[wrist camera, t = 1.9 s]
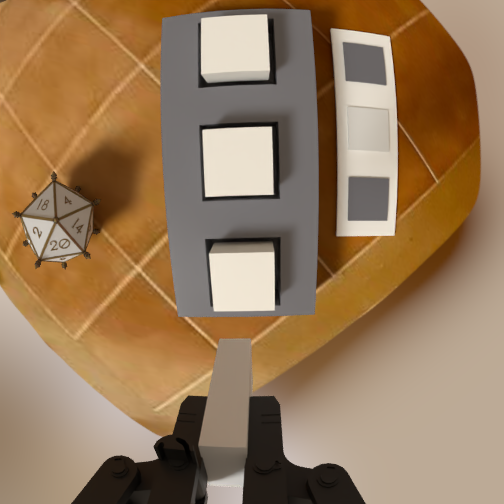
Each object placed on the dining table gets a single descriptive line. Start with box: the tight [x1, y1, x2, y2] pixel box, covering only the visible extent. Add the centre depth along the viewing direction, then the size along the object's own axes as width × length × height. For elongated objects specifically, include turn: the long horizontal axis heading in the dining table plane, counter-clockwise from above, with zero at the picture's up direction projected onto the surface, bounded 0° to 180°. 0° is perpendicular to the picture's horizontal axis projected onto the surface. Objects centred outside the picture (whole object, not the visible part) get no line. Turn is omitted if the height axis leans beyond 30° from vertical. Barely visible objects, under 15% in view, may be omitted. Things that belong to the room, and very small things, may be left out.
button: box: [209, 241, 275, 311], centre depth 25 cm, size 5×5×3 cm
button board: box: [161, 9, 319, 317], centre depth 25 cm, size 26×12×4 cm, turn 2°
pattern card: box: [330, 28, 398, 236], centre depth 25 cm, size 20×6×1 cm, turn 2°
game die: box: [12, 171, 101, 269], centre depth 25 cm, size 9×8×10 cm
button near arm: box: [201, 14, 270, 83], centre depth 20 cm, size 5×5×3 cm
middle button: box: [202, 127, 274, 197], centre depth 23 cm, size 5×5×3 cm
